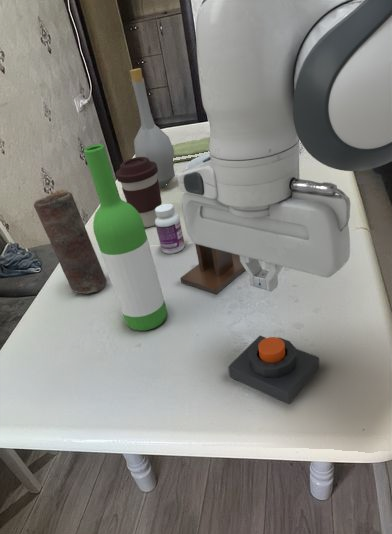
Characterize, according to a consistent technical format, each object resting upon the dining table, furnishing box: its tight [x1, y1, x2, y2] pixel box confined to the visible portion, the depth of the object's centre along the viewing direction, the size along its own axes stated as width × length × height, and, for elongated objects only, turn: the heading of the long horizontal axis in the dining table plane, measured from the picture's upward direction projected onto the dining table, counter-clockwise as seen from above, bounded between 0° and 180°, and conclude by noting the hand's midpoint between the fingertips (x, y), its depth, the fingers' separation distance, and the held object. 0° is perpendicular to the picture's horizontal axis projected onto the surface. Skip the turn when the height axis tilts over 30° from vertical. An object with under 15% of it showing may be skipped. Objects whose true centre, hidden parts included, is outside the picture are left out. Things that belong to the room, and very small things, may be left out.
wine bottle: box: [83, 143, 168, 332], centre depth 70 cm, size 8×8×30 cm
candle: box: [33, 189, 107, 294], centre depth 86 cm, size 8×7×20 cm
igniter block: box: [228, 335, 320, 405], centre depth 63 cm, size 10×8×4 cm
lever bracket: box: [180, 243, 246, 295], centre depth 83 cm, size 12×9×13 cm
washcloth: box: [172, 136, 210, 164], centre depth 147 cm, size 13×18×3 cm
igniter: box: [258, 336, 285, 363], centre depth 61 cm, size 4×4×2 cm
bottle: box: [129, 67, 176, 189], centre depth 119 cm, size 11×11×30 cm
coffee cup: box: [115, 157, 163, 228], centre depth 107 cm, size 10×10×15 cm
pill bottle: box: [155, 203, 186, 255], centre depth 96 cm, size 5×5×10 cm
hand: (264, 286), depth 54 cm, fingers closed
